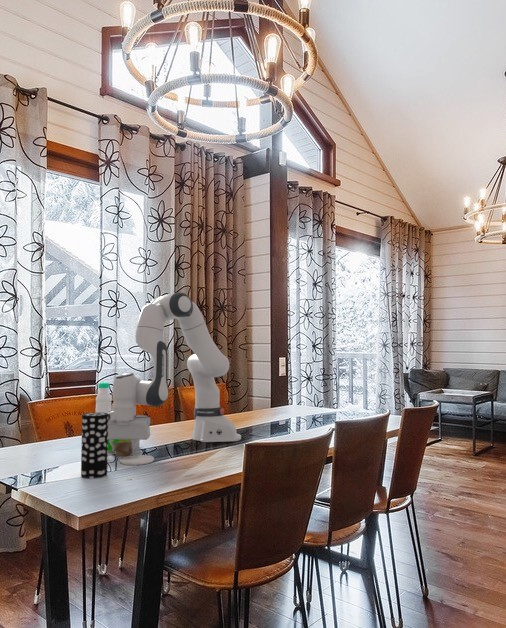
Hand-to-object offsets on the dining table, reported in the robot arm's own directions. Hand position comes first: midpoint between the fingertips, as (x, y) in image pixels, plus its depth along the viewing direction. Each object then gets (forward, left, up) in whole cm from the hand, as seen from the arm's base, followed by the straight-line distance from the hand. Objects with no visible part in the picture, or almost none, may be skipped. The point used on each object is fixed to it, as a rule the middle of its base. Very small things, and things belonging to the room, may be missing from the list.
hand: (123, 450), depth 201 cm
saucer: (-8, +10, -2) cm, 13 cm away
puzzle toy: (+4, -12, -2) cm, 13 cm away
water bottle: (+20, -36, -2) cm, 41 cm away
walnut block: (0, 0, -2) cm, 2 cm away
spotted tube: (+1, +30, -2) cm, 30 cm away
